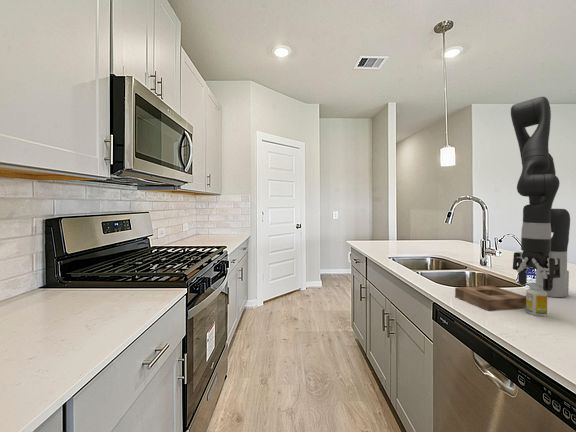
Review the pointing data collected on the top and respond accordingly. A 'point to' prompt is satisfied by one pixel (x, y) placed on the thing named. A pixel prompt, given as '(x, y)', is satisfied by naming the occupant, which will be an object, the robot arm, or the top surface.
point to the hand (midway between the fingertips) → (534, 287)
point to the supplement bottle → (536, 299)
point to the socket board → (491, 297)
